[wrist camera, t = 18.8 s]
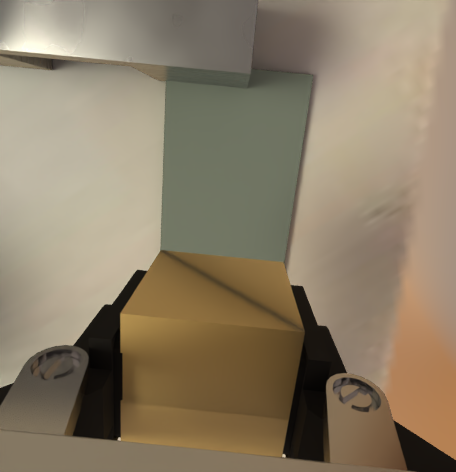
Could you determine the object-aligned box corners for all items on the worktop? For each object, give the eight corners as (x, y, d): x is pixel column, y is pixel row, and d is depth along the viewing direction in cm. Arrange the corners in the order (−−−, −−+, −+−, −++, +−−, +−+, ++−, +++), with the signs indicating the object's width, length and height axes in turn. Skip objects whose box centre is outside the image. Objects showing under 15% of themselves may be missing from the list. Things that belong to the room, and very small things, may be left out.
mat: (168, 61, 19) (166, 60, 19) (312, 75, 19) (313, 74, 19) (158, 338, 25) (157, 342, 24) (269, 349, 25) (270, 353, 24)
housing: (-48, -27, 18) (-400, -210, 8) (255, 2, 18) (276, -144, 8) (-36, 65, 19) (-324, 6, 10) (246, 93, 19) (254, 62, 10)
